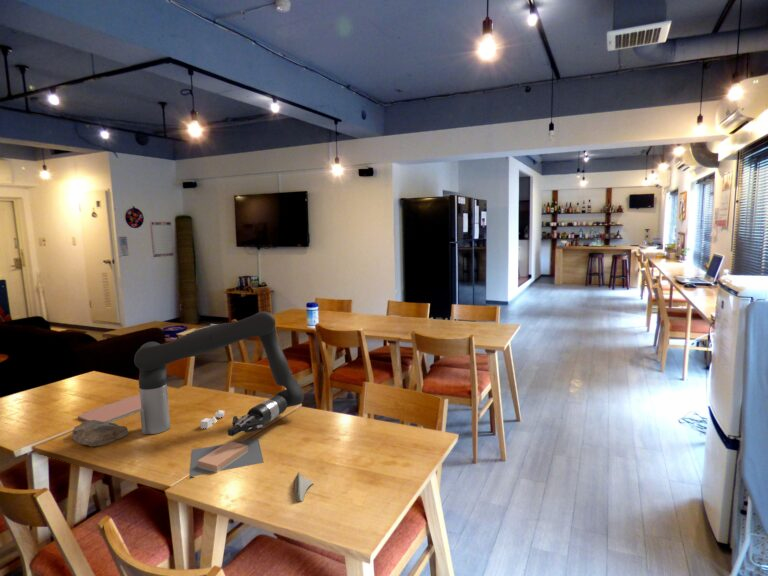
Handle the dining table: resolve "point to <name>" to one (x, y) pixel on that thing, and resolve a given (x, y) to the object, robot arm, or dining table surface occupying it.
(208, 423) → the game pieces
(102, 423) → the grey rock
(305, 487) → the ceramic fragment
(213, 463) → the tile
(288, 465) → the dining table surface
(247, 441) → the mat
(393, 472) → the dining table surface
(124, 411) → the notebook
